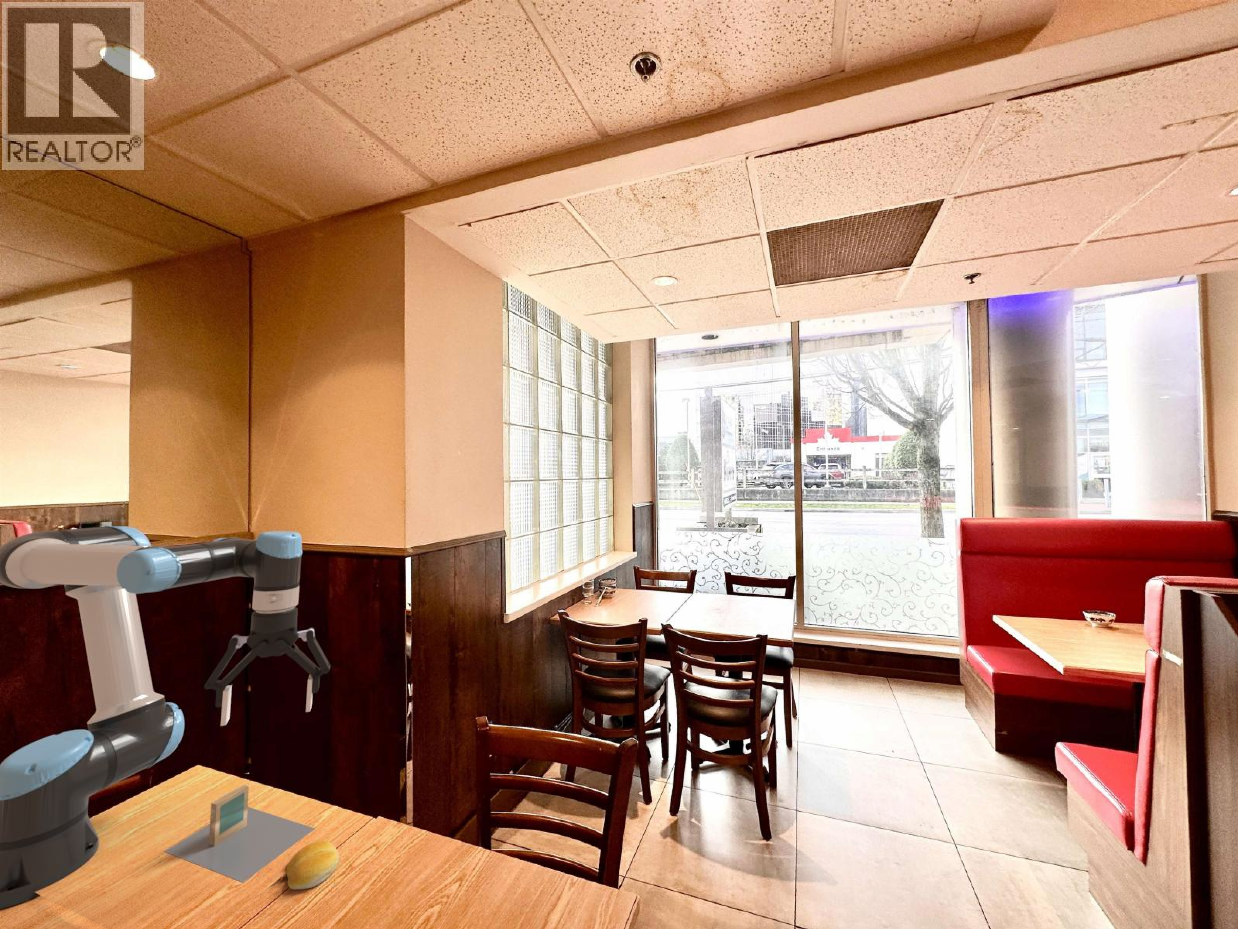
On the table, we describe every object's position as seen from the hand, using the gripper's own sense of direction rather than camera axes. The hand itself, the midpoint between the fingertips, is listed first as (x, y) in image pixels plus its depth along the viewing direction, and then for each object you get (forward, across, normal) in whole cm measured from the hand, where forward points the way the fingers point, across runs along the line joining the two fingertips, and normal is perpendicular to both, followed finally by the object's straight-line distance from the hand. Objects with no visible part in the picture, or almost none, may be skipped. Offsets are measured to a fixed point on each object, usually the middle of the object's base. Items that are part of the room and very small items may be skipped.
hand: (268, 715), depth 93 cm
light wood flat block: (+26, -6, +6) cm, 27 cm away
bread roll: (+27, +10, -10) cm, 30 cm away
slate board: (+27, -3, +4) cm, 27 cm away
